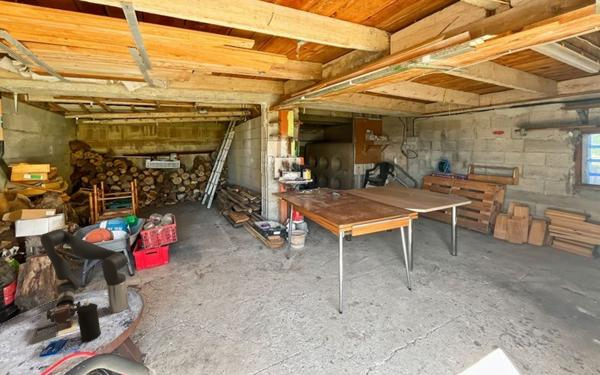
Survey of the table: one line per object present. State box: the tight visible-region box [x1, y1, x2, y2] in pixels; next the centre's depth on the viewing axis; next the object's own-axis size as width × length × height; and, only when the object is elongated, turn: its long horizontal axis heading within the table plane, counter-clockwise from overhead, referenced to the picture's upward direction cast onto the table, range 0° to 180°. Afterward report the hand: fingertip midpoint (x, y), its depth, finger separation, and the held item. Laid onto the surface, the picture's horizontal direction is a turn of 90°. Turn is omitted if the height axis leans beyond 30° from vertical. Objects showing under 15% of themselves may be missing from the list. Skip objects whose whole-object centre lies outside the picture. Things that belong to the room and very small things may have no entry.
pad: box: [57, 318, 79, 337], centre depth 141 cm, size 8×10×1 cm
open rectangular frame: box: [30, 322, 58, 346], centre depth 136 cm, size 9×11×3 cm
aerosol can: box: [75, 299, 102, 343], centre depth 134 cm, size 8×8×20 cm
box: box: [53, 304, 73, 332], centre depth 140 cm, size 6×4×12 cm
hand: (62, 318), depth 137 cm, fingers open, 7 cm apart
